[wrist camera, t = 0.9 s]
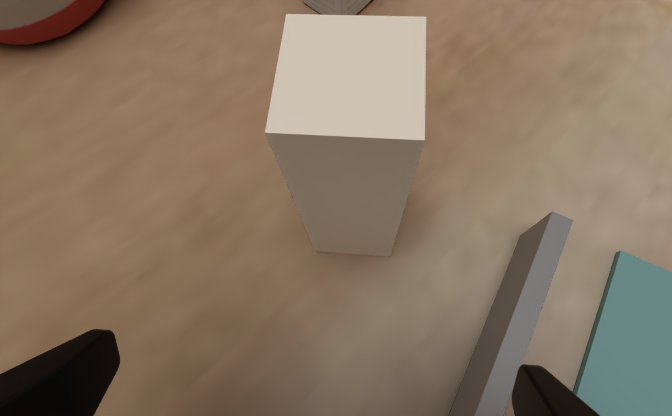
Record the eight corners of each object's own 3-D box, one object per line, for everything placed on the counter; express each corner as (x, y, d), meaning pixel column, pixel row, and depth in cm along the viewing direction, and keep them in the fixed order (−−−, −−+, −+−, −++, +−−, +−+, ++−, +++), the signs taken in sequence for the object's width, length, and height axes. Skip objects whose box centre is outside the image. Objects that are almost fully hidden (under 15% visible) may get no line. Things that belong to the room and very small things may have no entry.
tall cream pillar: (390, 256, 23) (424, 140, 10) (315, 251, 23) (264, 132, 11) (393, 188, 24) (426, 16, 12) (323, 183, 25) (286, 13, 12)
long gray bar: (431, 520, 18) (450, 563, 14) (411, 507, 18) (425, 545, 14) (537, 243, 22) (573, 220, 19) (520, 235, 23) (552, 211, 19)
